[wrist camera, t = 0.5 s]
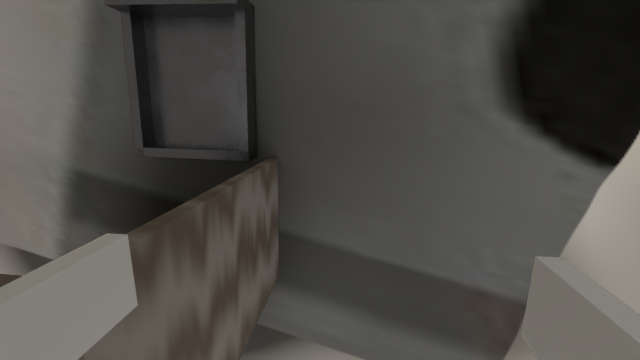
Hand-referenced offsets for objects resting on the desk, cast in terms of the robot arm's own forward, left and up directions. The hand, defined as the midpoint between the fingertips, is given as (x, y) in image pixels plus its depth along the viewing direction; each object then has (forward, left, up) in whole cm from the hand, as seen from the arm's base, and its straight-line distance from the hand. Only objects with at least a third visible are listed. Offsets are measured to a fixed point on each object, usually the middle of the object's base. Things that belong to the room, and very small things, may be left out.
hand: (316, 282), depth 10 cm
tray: (-8, -17, -26) cm, 32 cm away
